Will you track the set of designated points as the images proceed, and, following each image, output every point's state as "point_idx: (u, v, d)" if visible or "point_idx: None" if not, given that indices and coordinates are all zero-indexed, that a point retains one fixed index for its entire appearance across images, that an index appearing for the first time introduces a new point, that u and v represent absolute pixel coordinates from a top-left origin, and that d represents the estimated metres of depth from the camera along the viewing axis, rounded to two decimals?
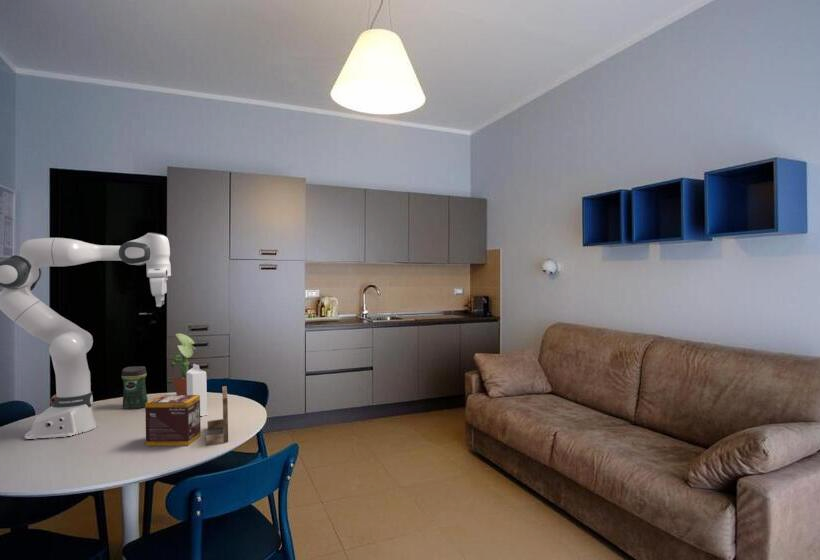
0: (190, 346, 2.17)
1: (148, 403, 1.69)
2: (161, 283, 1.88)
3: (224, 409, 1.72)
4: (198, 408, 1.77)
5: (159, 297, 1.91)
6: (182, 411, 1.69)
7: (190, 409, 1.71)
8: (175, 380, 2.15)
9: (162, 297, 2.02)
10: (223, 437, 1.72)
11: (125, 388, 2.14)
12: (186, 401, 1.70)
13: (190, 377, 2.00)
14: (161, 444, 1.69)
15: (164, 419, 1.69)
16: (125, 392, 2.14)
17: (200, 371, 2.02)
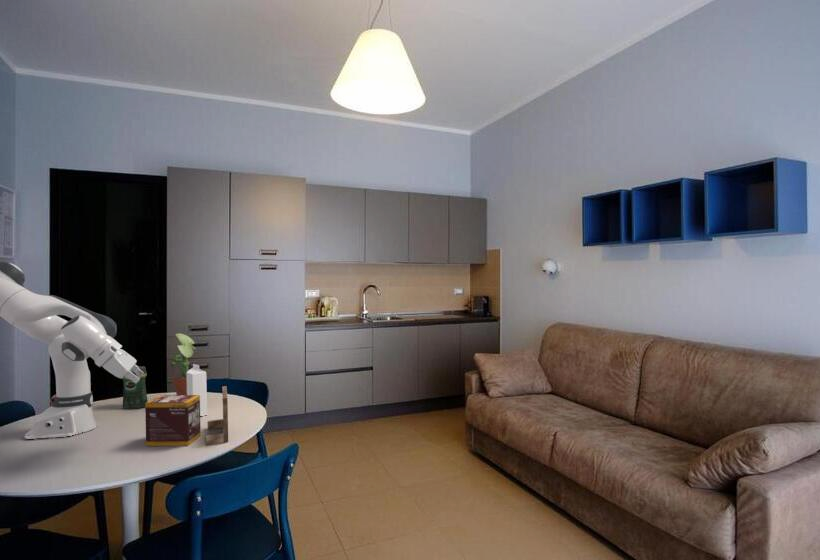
0: (190, 346, 2.17)
1: (148, 403, 1.69)
2: (117, 362, 1.59)
3: (224, 409, 1.72)
4: (198, 408, 1.77)
5: (129, 374, 1.63)
6: (182, 411, 1.69)
7: (190, 409, 1.71)
8: (175, 380, 2.15)
9: (136, 368, 1.74)
10: (223, 437, 1.72)
11: (125, 388, 2.14)
12: (186, 401, 1.70)
13: (190, 377, 2.00)
14: (161, 444, 1.69)
15: (164, 419, 1.69)
16: (125, 392, 2.14)
17: (200, 371, 2.02)
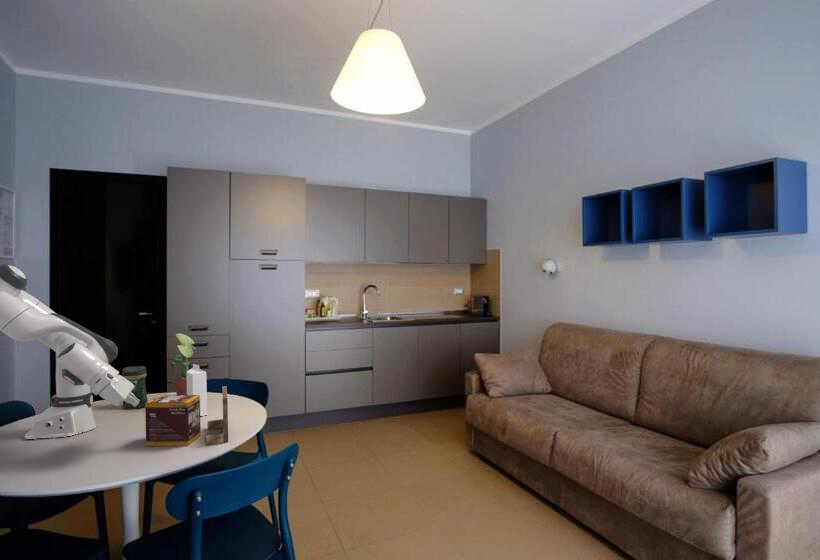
0: (190, 346, 2.17)
1: (148, 403, 1.69)
2: (113, 389, 1.59)
3: (224, 409, 1.72)
4: (198, 408, 1.77)
5: (128, 398, 1.67)
6: (182, 411, 1.69)
7: (190, 409, 1.71)
8: (175, 380, 2.15)
9: (132, 396, 1.70)
10: (223, 437, 1.72)
11: None
12: (186, 401, 1.70)
13: (190, 377, 2.00)
14: (161, 444, 1.69)
15: (164, 419, 1.69)
16: None
17: (200, 371, 2.02)
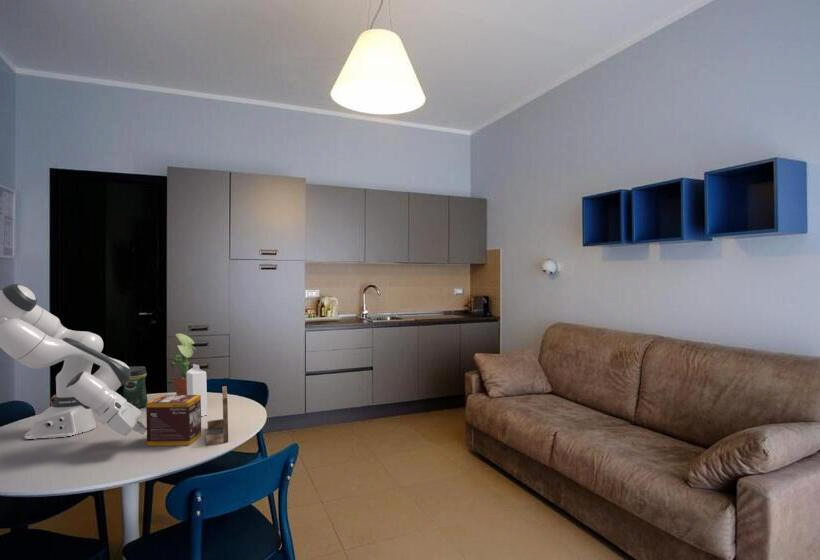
0: (190, 346, 2.17)
1: (149, 403, 1.69)
2: (121, 419, 1.59)
3: (224, 409, 1.72)
4: (199, 408, 1.78)
5: (136, 426, 1.67)
6: (183, 411, 1.69)
7: (191, 409, 1.71)
8: (175, 380, 2.15)
9: (139, 424, 1.71)
10: (223, 437, 1.72)
11: (125, 388, 2.14)
12: (187, 401, 1.70)
13: (190, 377, 2.00)
14: (162, 444, 1.69)
15: (165, 419, 1.69)
16: (125, 392, 2.14)
17: (200, 371, 2.02)
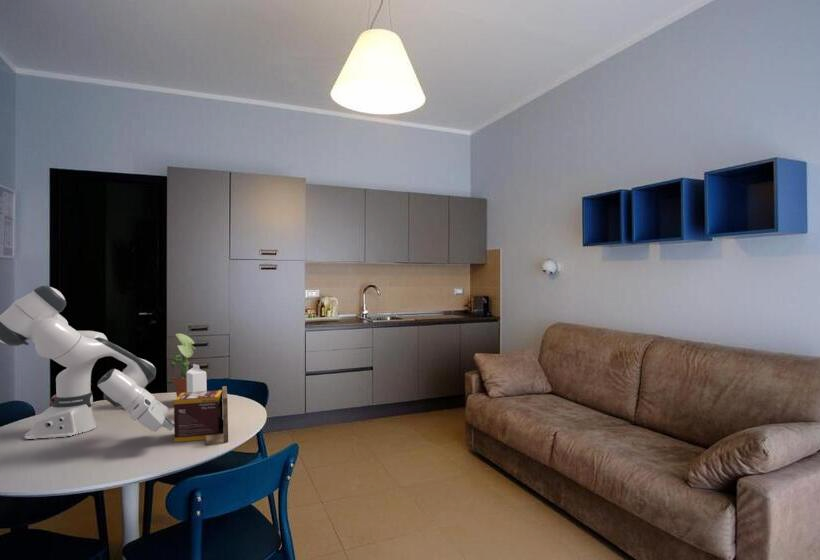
0: (190, 346, 2.17)
1: (177, 400, 1.73)
2: (151, 415, 1.63)
3: (224, 409, 1.72)
4: (222, 403, 1.84)
5: (164, 422, 1.71)
6: (213, 406, 1.75)
7: (219, 403, 1.78)
8: (175, 380, 2.15)
9: (167, 421, 1.74)
10: (223, 437, 1.72)
11: None
12: (215, 396, 1.77)
13: (190, 377, 2.00)
14: (191, 439, 1.74)
15: (194, 414, 1.74)
16: None
17: (200, 371, 2.02)
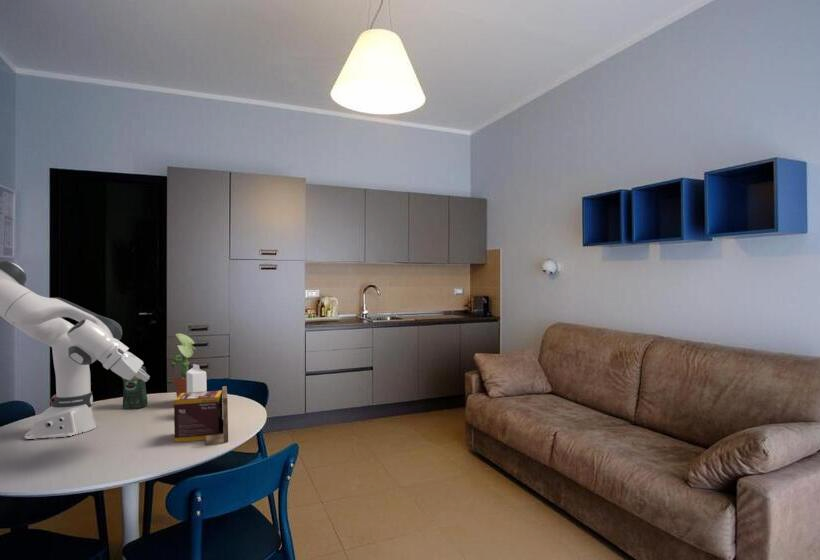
0: (190, 346, 2.17)
1: (177, 400, 1.73)
2: (125, 364, 1.60)
3: (224, 409, 1.72)
4: None
5: (139, 373, 1.68)
6: (213, 406, 1.75)
7: (219, 403, 1.78)
8: (175, 380, 2.15)
9: (142, 372, 1.72)
10: (223, 437, 1.72)
11: (125, 388, 2.14)
12: (216, 396, 1.77)
13: (190, 377, 2.00)
14: (191, 439, 1.74)
15: (194, 415, 1.74)
16: (125, 392, 2.14)
17: (200, 371, 2.02)
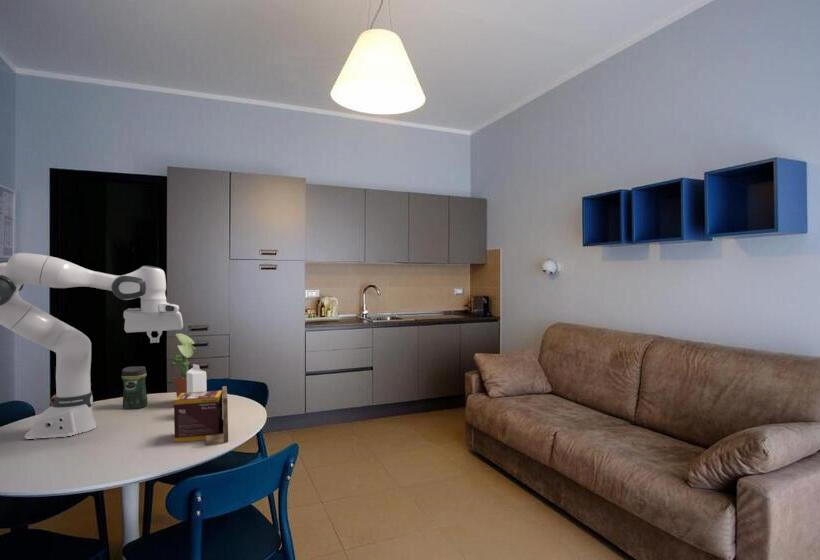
0: (190, 346, 2.17)
1: (177, 400, 1.73)
2: (181, 316, 1.91)
3: (224, 409, 1.72)
4: None
5: None
6: (213, 406, 1.75)
7: (219, 403, 1.78)
8: (175, 380, 2.15)
9: (150, 334, 1.86)
10: (223, 437, 1.72)
11: (125, 388, 2.14)
12: (216, 396, 1.77)
13: (190, 377, 2.00)
14: (191, 439, 1.74)
15: (194, 415, 1.74)
16: (125, 392, 2.14)
17: (200, 371, 2.02)
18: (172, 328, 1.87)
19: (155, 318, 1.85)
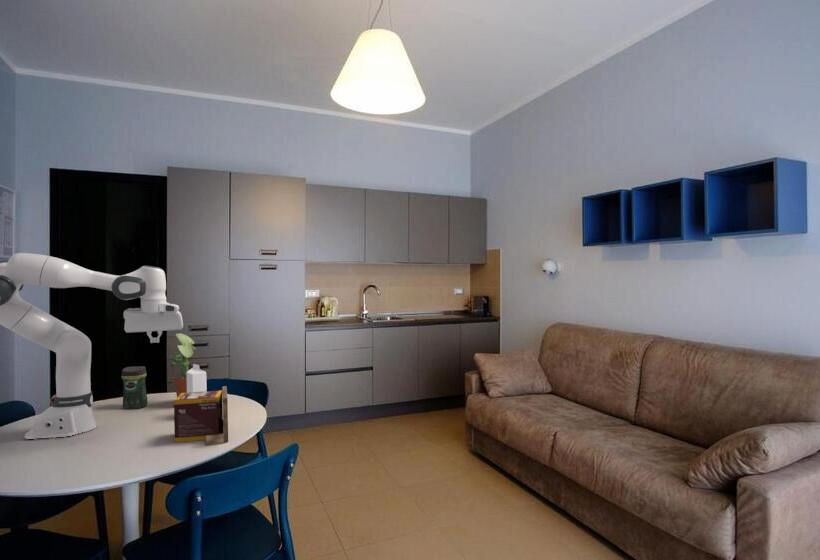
0: (190, 346, 2.17)
1: (177, 400, 1.73)
2: (181, 316, 1.91)
3: (224, 409, 1.72)
4: None
5: None
6: (213, 406, 1.75)
7: (219, 403, 1.78)
8: (175, 380, 2.15)
9: (150, 334, 1.86)
10: (223, 437, 1.72)
11: (125, 388, 2.14)
12: (216, 396, 1.77)
13: (190, 377, 2.00)
14: (191, 439, 1.74)
15: (194, 415, 1.74)
16: (125, 392, 2.14)
17: (200, 371, 2.02)
18: (172, 328, 1.87)
19: (155, 318, 1.85)
